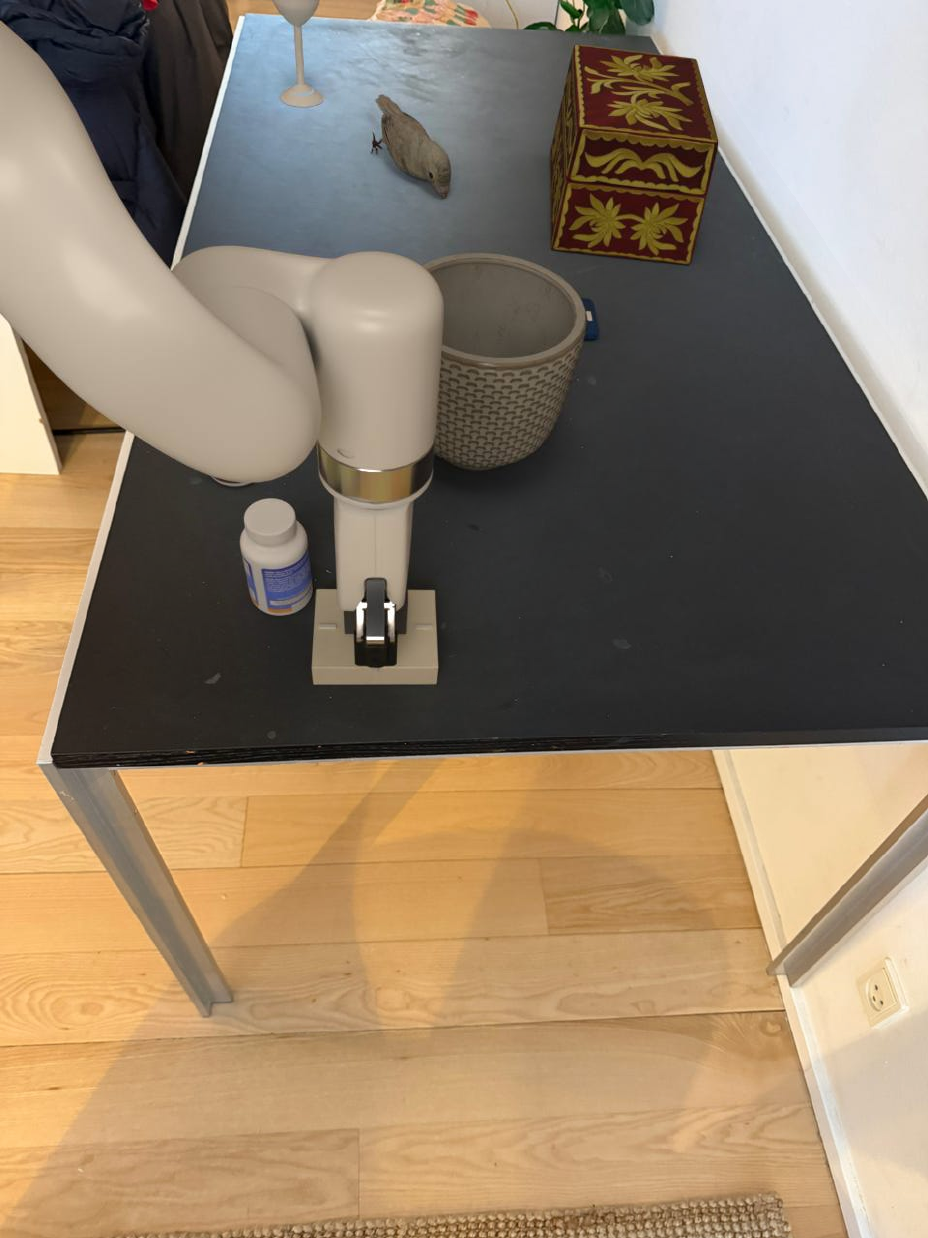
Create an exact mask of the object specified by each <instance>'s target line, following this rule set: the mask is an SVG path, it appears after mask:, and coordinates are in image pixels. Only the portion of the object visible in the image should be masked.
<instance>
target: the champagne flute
mask: <svg viewBox="0 0 928 1238" xmlns="http://www.w3.org/2000/svg"><path fill="white" fill-rule="evenodd" d="M272 3H273V5H274V7H275V8H276V10H277V12H278V13H279V15H281V17H283V18H284V19H285V20H286V22H287V23H289V24H290V25H291V26H293V41H294V42H293V43H294V57H295V72H296V74H295V75H296V83H295V84H293V85H292V86H290V87H288V88H287V89H285V90H283V92H281V93H280V94H279V99H280V100H281V101H282V102H283V103H284V104H286V105H289V106H291V107H295V108H296V107H297V108H309V107H315V106H318V105H320V104H322V103H323V101H324V95H323V94H322V93H321V92H319V91H318V90H316V89H314V88H313V87H312V86H309V85H308V84H306V81H305V78H306V77H305V65H304V61H305V60H304V47H303V27H302V26H303V25H305V24H307V22H309V20H310V19H311V18H312V17H313V16H314V15H315V14H316V11H317V9H318V8H319V5H320V0H272ZM312 89H313V90H314V92H313V93H312V94H310V95H307V96H298V95H294V94H300V95H301V94H305V93H310V92H311V91H312ZM289 91H290V92H291V93H290V92H289ZM292 93H294V94H292Z"/></svg>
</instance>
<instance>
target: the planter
mask: <svg viewBox="0 0 928 1238" xmlns="http://www.w3.org/2000/svg"><path fill="white" fill-rule="evenodd" d="M421 266H422V267H424V268H425V269H426V270H427V271H428V272H429V273H430V274H431V275H432V276H433V278H434V279H435V281H436V282H437V283H438V286H439V288H440V291H441V294H442V297H443V303H444V322H443V336H442V349H441V363H440V377H439V392H438V406H437V422H436V435H435V450H434V455H435V456H438V458H440V459H443V460H444V461H446V462H447V463H449V464H451V465H453V466H455V467H456V468H460V469H464V470H467V471H468V470H469V471H475V472H477V471H481V472H483V471H489V470H493V469H497V468H500V467H503V466H507V465H511V464H514V463H516V462H519V461H521V460H523V459H525V458H526V457H528V456H530V455H532V454H533V453H534V452H536V451H537V450H538V449H539V448H540V447H541V446H542V445H543V444H544V442H545V441H546V440H547V439H548V437H549V436H550V435H551V433H552V432H553V429H554V427H555V424H556V423H557V421H558V419H559V417H560V414H561V412H562V409H563V406H564V404H565V401H566V399H567V396H568V393H569V390H570V387H571V385H572V382H573V378H574V374H575V371H576V368H577V364H578V362H579V358H580V355H581V352H582V349H583V344H584V342H585V339H584V337H585V332H586V322H587V320H586V310H585V307H584V304H583V302H582V300H581V296H580V295H579V293H578V292H577V291H576V290H575V289H574V287H573V286H572V285H571V284H570V283H568V282H567V281H566V280H565V279H564V278H563V277H561V276H560V275H558V274H557V273H555V272H553V271H552V270H550V269H548V268H546V267H544V266H541V265H539V264H537V263H535V262H532V261H529V260H526V259H522V258H519V257H517V256H516V257H515V256H510V255H505V254H498V253H490V252H467V253H457V254H451V255H445V256H441V257H439V258H435V259H433V260H430V261H427V262H425V263H423V264H422V265H421Z"/></svg>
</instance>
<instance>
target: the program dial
mask: <svg viewBox="0 0 928 1238" xmlns="http://www.w3.org/2000/svg"><path fill="white" fill-rule="evenodd" d="M408 590H409V588H408V585H406V593H405V601H404V605H403V606H402V607H401V608H400V609H399V610H397V611H396V608H395V630H398V634H406V632H407V612H408ZM363 599H367V589H366V592H364V598H363ZM384 599H389V598H388V597H387V592H386V590H384ZM365 626H367V610H364V628H365ZM384 626H387V627H388V610H384ZM344 630H345V634H354V630H357V608H356V609H355V610H354V611H344Z"/></svg>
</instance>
